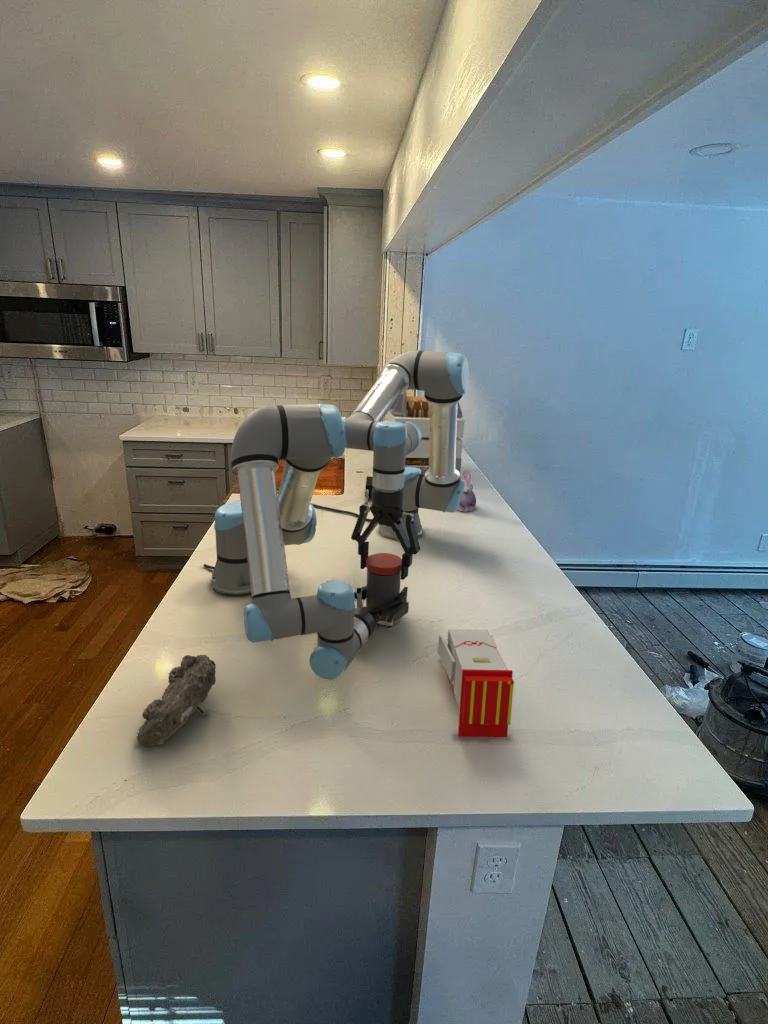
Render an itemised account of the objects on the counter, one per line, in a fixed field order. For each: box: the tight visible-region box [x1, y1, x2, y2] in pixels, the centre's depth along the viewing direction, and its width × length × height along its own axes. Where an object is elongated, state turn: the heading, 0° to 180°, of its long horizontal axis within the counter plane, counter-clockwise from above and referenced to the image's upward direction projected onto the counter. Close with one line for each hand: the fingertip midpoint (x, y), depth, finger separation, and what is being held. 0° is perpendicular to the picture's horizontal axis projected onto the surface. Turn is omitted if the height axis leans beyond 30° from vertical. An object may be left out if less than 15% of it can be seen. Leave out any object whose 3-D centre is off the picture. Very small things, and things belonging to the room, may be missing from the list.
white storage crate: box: [385, 390, 465, 475], centre depth 268 cm, size 34×33×41 cm
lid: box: [365, 552, 402, 575], centre depth 141 cm, size 9×9×2 cm
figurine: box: [457, 471, 477, 513], centre depth 226 cm, size 9×10×15 cm
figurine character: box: [364, 475, 373, 502], centre depth 235 cm, size 7×8×15 cm
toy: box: [437, 628, 515, 738], centre depth 117 cm, size 12×13×30 cm
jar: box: [365, 568, 402, 626], centre depth 143 cm, size 8×8×15 cm
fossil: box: [136, 654, 217, 747], centre depth 108 cm, size 22×10×15 cm
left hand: (389, 587), depth 148 cm, fingers closed on jar, 8 cm apart
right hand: (383, 572), depth 142 cm, fingers open, 10 cm apart
